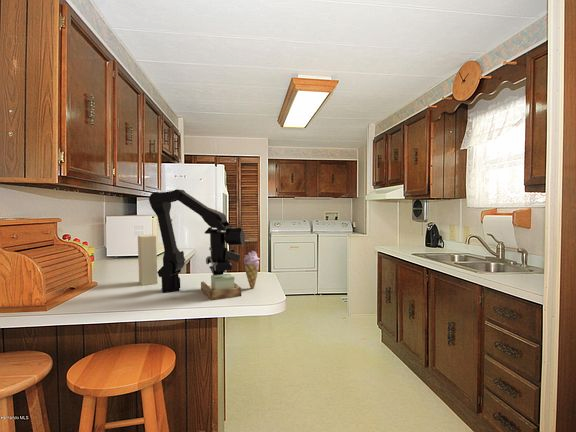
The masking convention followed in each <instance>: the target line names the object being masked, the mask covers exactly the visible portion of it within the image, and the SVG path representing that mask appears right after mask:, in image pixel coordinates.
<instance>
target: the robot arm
mask: <svg viewBox="0 0 576 432" xmlns="http://www.w3.org/2000/svg"><path fill="white" fill-rule="evenodd" d="M178 201H179V202H180V203H181V204H183V205H184V206H185V207H187V208H189V209H190V210H192V211H193V213H196V214H198V215H199V216H200V217H201V218H202V219H203V221H204V223H206V224H207V225H208V226H209V227H208V228H207V229H206V230H205V231H204V234H209V242H210V243H209V246H210V247H209V249H208V250H209V251H210V255H209V256H207V257H206V258H205V264H206V265H209V264H210V266H208V267H209V269H210V271H211V274H212V275H219V274H225V271H231V270H233V264H232V262H235V263H239V261H240V258H241V254H239V253H237V252H236V251H235V249H231V248H229V250H228V247H226V244H227V245H228V246H244V245H245V241H246V235H245V231H244V228H243V227H232V226H231V224H230V223H229V222H228V220H227V216H226V215H225V213H224V212H221V211H219V210H216V209H213V208H210V207H209V206H206V205H205V204H204V203H202V202H201V201H200V200H198V199H196V198H195V197H193V196H192V195H190V194H189V193H187V192H186V191H185V190H184V189H179V188H177V189H176V188H175V189H174V190H171V191H165V192H162V191H154V192H152V193H150V195H149V197H148V202H149V204H150V207H151V209H152V211H153V212H154V213H155V215H156V216H157V222H158V226H159V232H160V236H161V240H162V245H163V251H164V252H163V257H162V266H161V267H160V268H159V270H157V276H158V277H159V278H161V288H160V290H161V292H162V293H170V292H178V291H181V278H180V276H179V274H180V273H181V271H182V269H183V268H184V266H185V261H186V260H187V259H186V258H185V253H184V250H181V251H180V249H178V245H177V241H176V237H175V233H174V229H173V228H174V227H173V223H172V218H171V209H172V203H175V202H178ZM230 261H232V262H230Z"/></svg>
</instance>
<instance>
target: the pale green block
mask: <svg viewBox="0 0 576 432" xmlns="http://www.w3.org/2000/svg"><path fill="white" fill-rule="evenodd" d="M210 278H211V280H210V283H211V284H210V286H211V288H212V290H213V291H214V290H222V289H230V288H234V283H235V279H236V278H235V276H234V275H232V274H231V273H223V274H219V275H213V274H212V275H210Z"/></svg>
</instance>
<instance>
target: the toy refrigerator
mask: <svg viewBox="0 0 576 432" xmlns="http://www.w3.org/2000/svg"><path fill="white" fill-rule="evenodd" d="M157 252H158V251H157V235H155V234H139V235H137V254H138V255H137V256H138V257H137V258H138V262H137V263H138V281H139V284H140V285H141V286H149V285H157V284H159V283H158V282H159V281H158V279H159V278H158V273H157V272H158V255H157Z"/></svg>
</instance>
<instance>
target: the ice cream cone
mask: <svg viewBox="0 0 576 432" xmlns="http://www.w3.org/2000/svg"><path fill="white" fill-rule="evenodd" d="M259 260H261V258H260V257H258V253H257V251H254V250H251V252H250V251H249V252H248V254H244V258H243V261H244V262H243V266H244V271H245V274H246V275H245V276H246V279H247V281H248V285H249V287H250V289H251V290H254V289H255V286H256V282H257V279H258V275H259V274H258V273H259V266H260V261H259Z"/></svg>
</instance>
